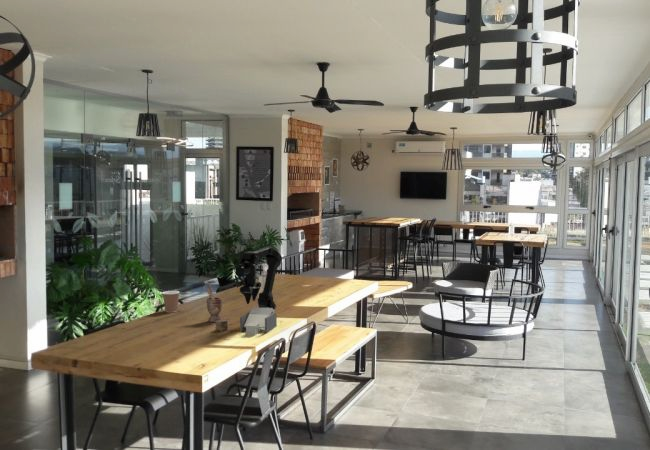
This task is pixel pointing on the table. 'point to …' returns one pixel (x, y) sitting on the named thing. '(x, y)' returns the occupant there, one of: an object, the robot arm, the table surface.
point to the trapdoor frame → (269, 322)
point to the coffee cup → (171, 300)
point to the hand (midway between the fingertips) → (250, 302)
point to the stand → (221, 325)
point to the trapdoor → (258, 316)
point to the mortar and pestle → (213, 306)
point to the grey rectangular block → (252, 329)
